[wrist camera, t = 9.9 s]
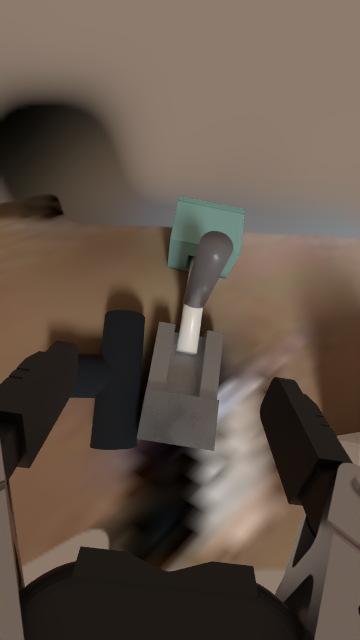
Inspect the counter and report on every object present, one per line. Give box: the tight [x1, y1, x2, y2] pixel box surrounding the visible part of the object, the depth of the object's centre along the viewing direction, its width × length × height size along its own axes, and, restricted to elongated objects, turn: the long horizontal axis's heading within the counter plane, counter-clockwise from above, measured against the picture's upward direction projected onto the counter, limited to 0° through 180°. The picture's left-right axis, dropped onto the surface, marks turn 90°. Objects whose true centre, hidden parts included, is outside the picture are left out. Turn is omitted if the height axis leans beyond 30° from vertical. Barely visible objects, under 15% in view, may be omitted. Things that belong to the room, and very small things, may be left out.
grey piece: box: [176, 231, 233, 355], centre depth 29 cm, size 3×18×14 cm, turn 171°
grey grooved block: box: [137, 322, 223, 451], centre depth 30 cm, size 8×13×5 cm, turn 171°
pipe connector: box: [70, 310, 145, 450], centre depth 30 cm, size 12×5×15 cm
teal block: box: [167, 196, 245, 278], centre depth 36 cm, size 9×7×7 cm
